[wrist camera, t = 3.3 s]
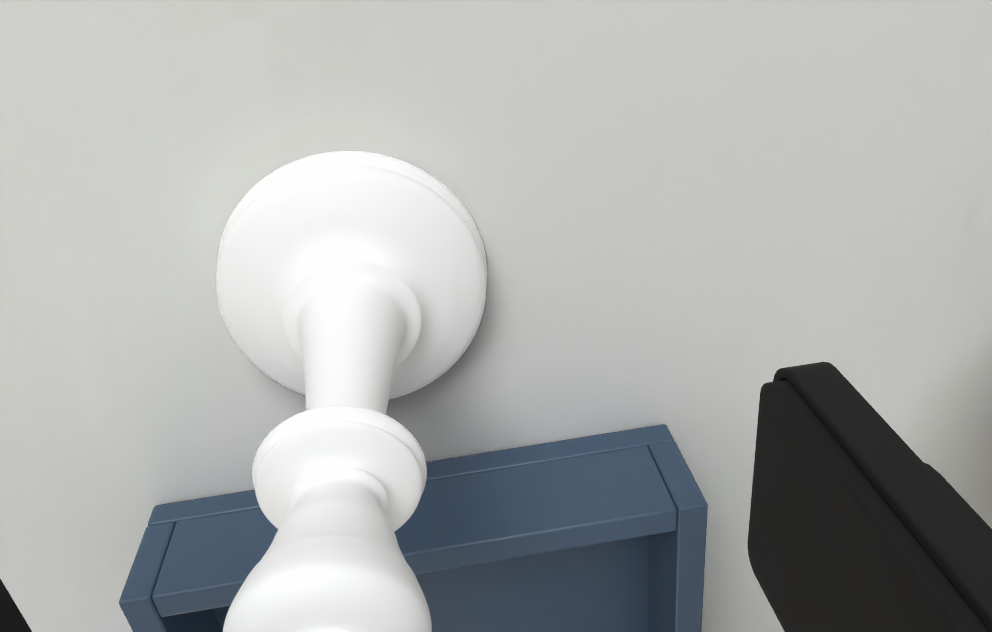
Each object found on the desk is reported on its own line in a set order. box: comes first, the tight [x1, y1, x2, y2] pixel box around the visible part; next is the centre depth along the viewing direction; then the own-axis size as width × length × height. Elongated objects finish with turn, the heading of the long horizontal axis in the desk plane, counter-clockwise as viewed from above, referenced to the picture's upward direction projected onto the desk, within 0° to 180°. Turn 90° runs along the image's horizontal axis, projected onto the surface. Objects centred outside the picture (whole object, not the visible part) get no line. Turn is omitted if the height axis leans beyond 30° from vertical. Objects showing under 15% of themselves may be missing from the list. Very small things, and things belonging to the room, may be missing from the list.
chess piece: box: [216, 151, 487, 632], centre depth 10 cm, size 5×5×10 cm
